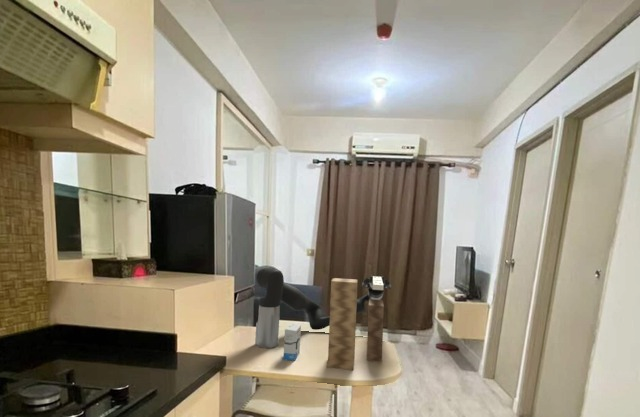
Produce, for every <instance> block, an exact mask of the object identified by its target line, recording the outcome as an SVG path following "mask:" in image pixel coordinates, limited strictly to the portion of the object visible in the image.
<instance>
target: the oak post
mask: <svg viewBox="0 0 640 417" xmlns="http://www.w3.org/2000/svg"><path fill="white" fill-rule="evenodd" d="M330 281H331V282H330V283H331V285H330V302H329V316H330V324H329V326H328V327H329V328H328V347H327V348H328V350H327V351H328V353H327V361H326V368H330V369H331V368H332V369H342V370H350V371H353V370H354V367H355V355H356V354H355V353H356V352H355V350H356V328H357V314H356V307H357V299H358V279H353V278H341V277H340V278H339V277H338V278H337V277H332V279H331V280H330Z"/></svg>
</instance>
